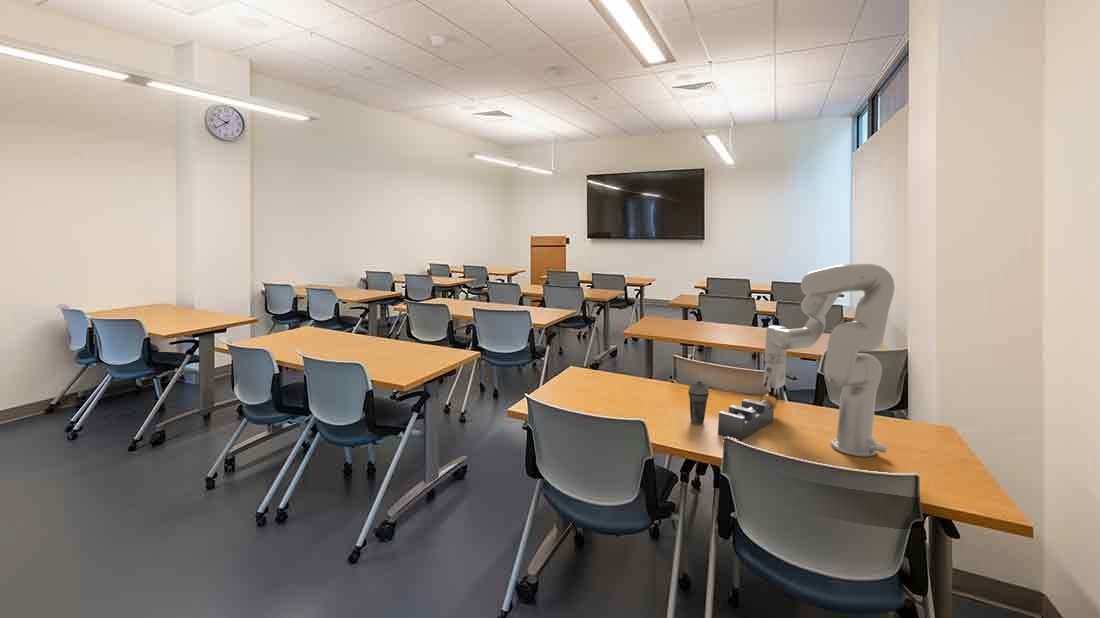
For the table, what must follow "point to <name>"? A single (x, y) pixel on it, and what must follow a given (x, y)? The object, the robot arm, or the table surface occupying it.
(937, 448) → the table surface
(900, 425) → the table surface
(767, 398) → the shaft
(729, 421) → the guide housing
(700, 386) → the beverage cup
